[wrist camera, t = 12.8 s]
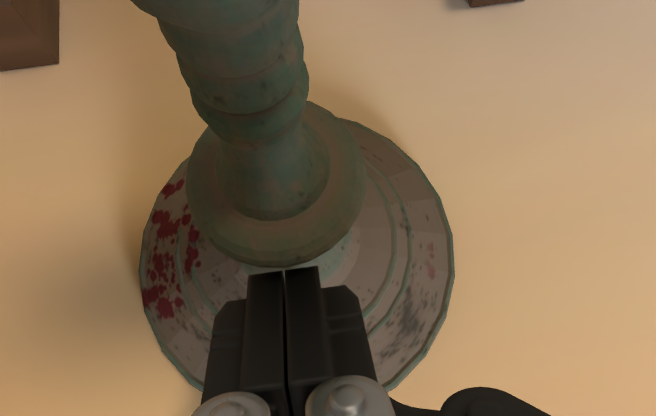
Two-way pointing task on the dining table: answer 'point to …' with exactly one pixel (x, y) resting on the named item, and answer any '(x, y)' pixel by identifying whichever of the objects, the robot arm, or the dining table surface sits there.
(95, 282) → the dining table surface
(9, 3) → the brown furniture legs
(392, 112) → the dining table surface
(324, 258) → the candlestick holder
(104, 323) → the dining table surface
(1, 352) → the dining table surface
